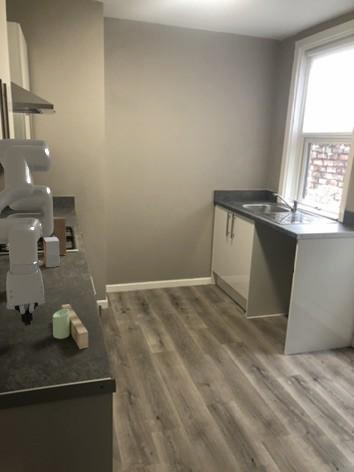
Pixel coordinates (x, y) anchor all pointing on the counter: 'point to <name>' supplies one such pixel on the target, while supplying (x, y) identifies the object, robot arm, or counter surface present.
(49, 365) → the counter surface
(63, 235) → the decorative block
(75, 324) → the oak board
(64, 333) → the candle
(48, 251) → the small box
